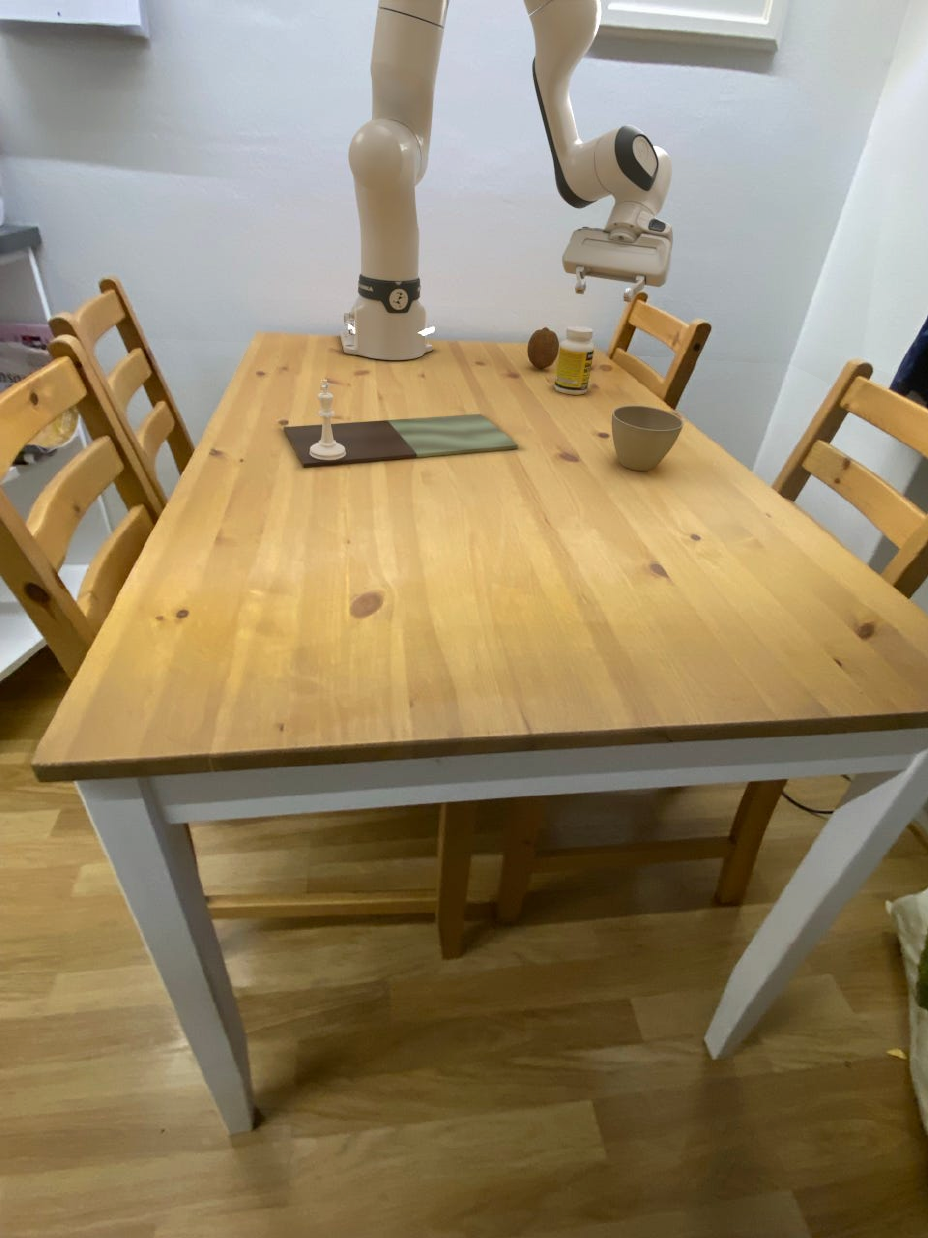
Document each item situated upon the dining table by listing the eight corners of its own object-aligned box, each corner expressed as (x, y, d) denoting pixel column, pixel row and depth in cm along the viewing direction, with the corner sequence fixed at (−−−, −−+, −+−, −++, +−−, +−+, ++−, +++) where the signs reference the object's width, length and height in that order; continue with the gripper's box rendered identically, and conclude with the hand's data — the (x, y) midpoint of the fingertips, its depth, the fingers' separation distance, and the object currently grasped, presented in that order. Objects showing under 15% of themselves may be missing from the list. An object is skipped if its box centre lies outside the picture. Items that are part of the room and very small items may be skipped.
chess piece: (352, 450, 97) (350, 378, 92) (335, 463, 94) (332, 388, 88) (320, 444, 99) (317, 372, 93) (302, 456, 95) (298, 381, 89)
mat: (283, 430, 103) (283, 426, 103) (480, 417, 115) (480, 413, 114) (303, 467, 93) (303, 463, 93) (517, 448, 104) (518, 444, 104)
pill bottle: (585, 397, 128) (596, 334, 121) (552, 392, 128) (561, 329, 122) (587, 387, 133) (598, 326, 126) (555, 383, 133) (564, 322, 127)
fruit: (560, 372, 140) (567, 330, 135) (532, 373, 138) (538, 331, 133) (547, 364, 145) (553, 323, 140) (520, 364, 143) (525, 323, 138)
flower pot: (596, 469, 100) (605, 420, 96) (610, 446, 108) (619, 400, 104) (666, 484, 97) (679, 434, 93) (675, 460, 105) (687, 413, 101)
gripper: (573, 213, 133) (548, 275, 131) (680, 226, 126) (655, 292, 124) (577, 238, 138) (553, 298, 137) (679, 251, 132) (655, 315, 130)
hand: (602, 295), depth 130 cm, fingers open, 8 cm apart
